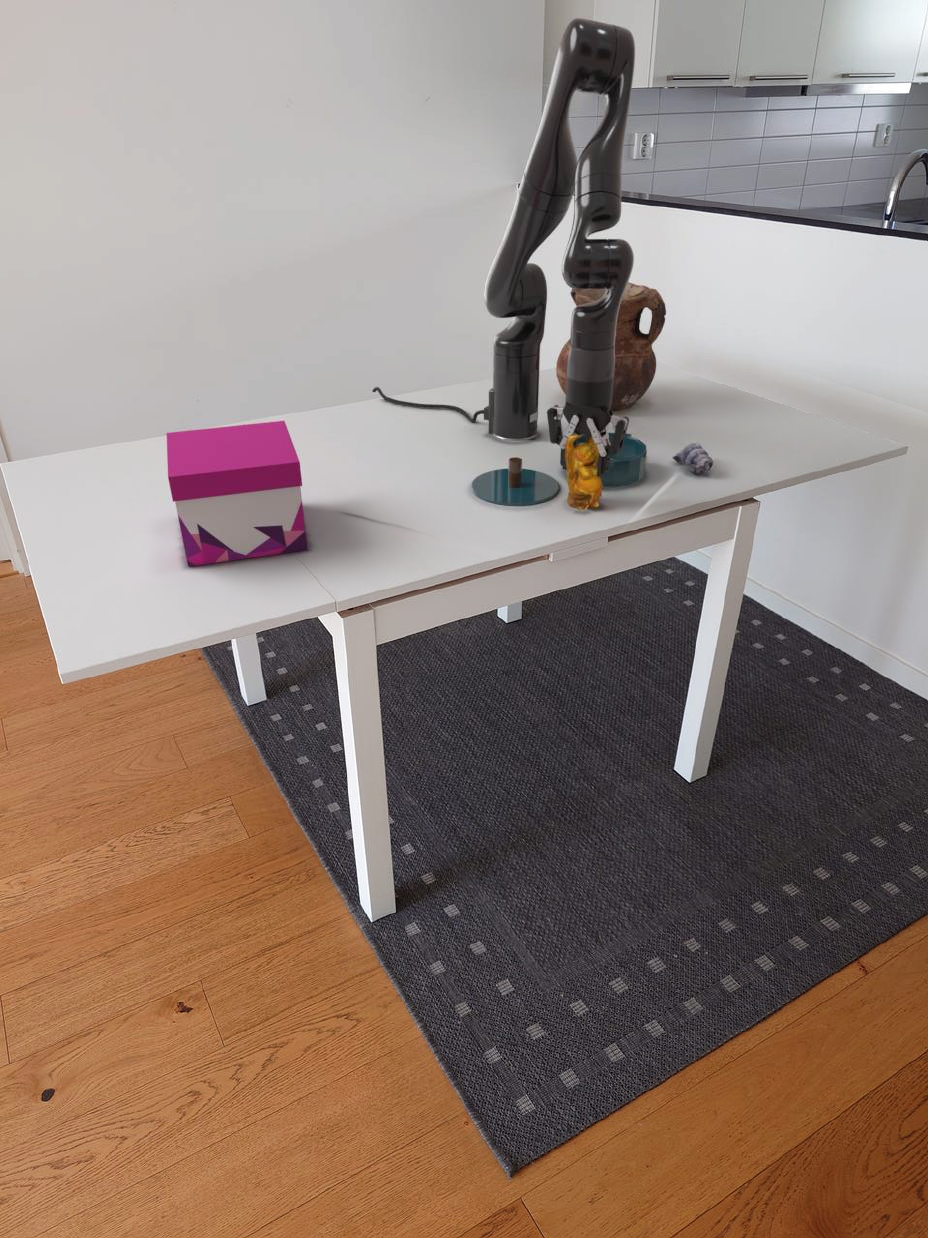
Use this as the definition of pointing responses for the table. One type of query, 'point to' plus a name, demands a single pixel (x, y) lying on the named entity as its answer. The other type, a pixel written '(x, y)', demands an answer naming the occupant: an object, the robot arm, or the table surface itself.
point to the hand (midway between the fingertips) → (583, 471)
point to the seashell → (694, 458)
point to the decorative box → (236, 492)
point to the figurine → (582, 473)
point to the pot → (623, 462)
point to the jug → (626, 343)
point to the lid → (514, 485)
